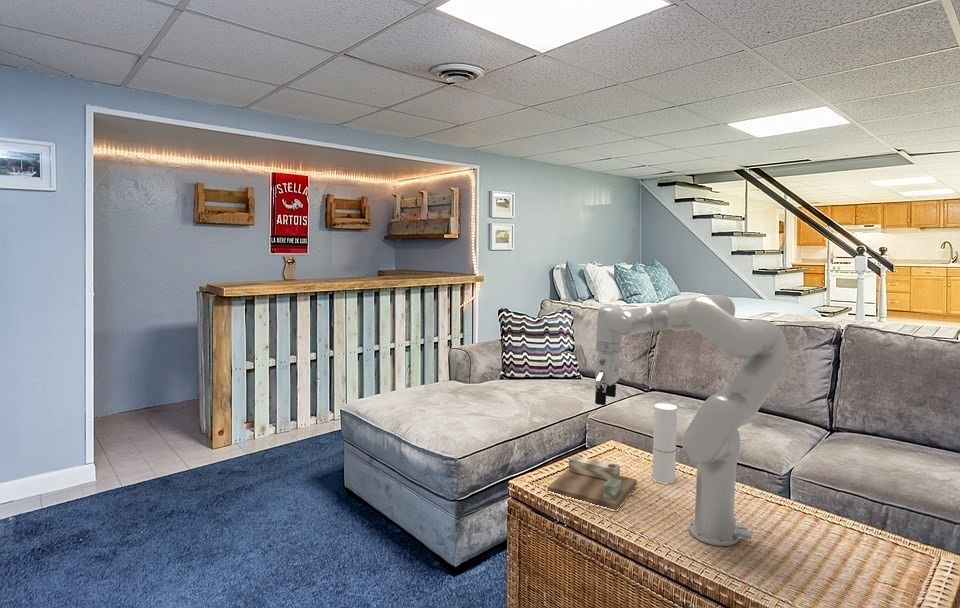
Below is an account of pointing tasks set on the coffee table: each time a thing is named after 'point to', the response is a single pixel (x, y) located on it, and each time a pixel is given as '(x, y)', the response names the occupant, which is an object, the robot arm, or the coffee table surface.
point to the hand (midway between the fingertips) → (605, 400)
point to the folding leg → (594, 468)
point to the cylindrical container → (664, 442)
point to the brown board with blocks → (594, 488)
